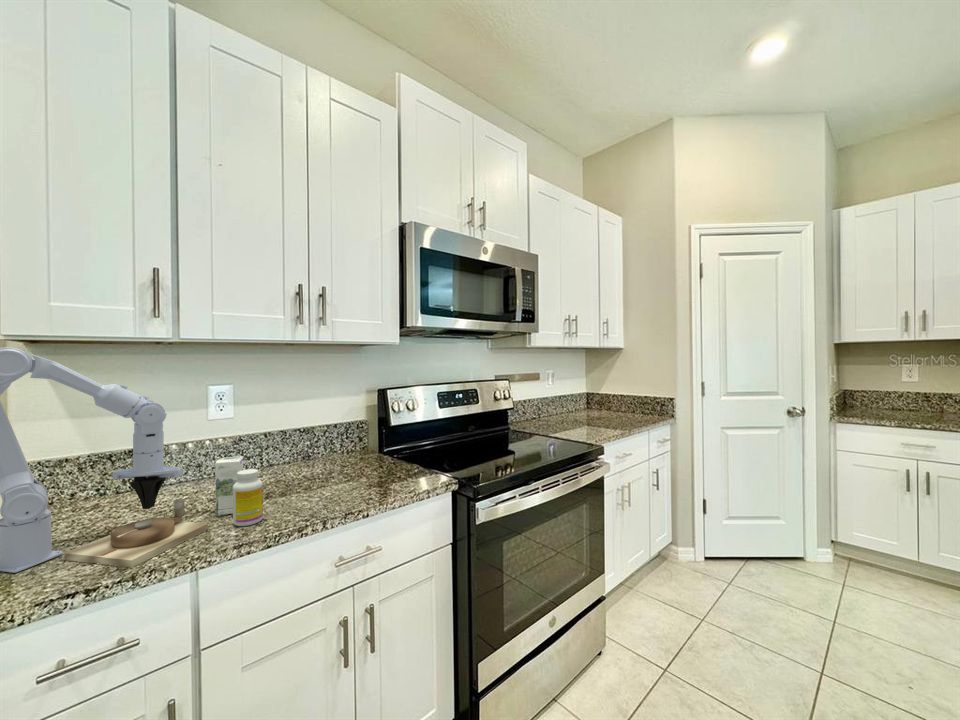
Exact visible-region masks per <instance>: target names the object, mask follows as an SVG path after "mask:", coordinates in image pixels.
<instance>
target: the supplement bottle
mask: <svg viewBox="0 0 960 720" xmlns="http://www.w3.org/2000/svg"><path fill="white" fill-rule="evenodd" d="M258 476H259V470H258V469H254V468H251V469H250V468H249V469H243V470H242V471H239V472H237V479H238V482H236V483H235V484H234V485H233V514H232V523H233V524H234V525H235V526H237V527H247V526H251V525H255V524H258V523H259V522H260V523H261V521H262V520H263V518H264V497H263V496H264V494H263V493H264V492H263V491H264V490H263V488H264V487H263V481H262V480H261V479H259V478H258Z"/></svg>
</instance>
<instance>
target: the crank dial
mask: <svg viewBox="0 0 960 720" xmlns="http://www.w3.org/2000/svg"><path fill="white" fill-rule="evenodd" d="M173 504H174V505H173V506H174V507H173V509H174V511H173V512H174V514H173V515H174V516H172V517H165V516H164V517H153V518H152V517H151V518H145V519H141V520H136V521H133V522H130V523H126V524H123V525H122V526H120V527H117V528H115V529H114V530H112V531H111V532H110V535H111V545H112V546H113V547H119V548H124V547H134V546H140V545H144V544H148V543H152V542H155V541H158V540H160V539H163V538H165V537H167V536H169V535H170V534H172V533H173V532H174V523H176V522H178V521H183V517H185V498H177V499H174V501H173Z"/></svg>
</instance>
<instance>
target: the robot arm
mask: <svg viewBox="0 0 960 720" xmlns="http://www.w3.org/2000/svg"><path fill="white" fill-rule="evenodd" d="M29 373H31V375H30V377H29V378H30V379H42V380H43V379H45V380H47V379H48V380H51V381H55V382H57V383H60V384H62V385H64V386H67V387H68V388H69V387H70V388H71V389H74V390H77V391H79V392H81V393H83V394H86V395H88V396H91V397H92V398H93V400H94V405H95V406H96V407H99V408H102V409H103V410H107V411H108V412H111V413H113V414H115V415H117V416H120V417H123V418H125V419H129V418H130V419H131V420H132V421H133V422H134V423H133V426H134V427H133V434H132V468H124V469H123V468H122V469H116V470H114V471H112V481H113V480H114V481H115V480H121V479H133V481H131V482H130V483H129V486H130V487H131V488H132V489H133V491H135V493H136V495H137V497H138V499H139V502H140V505H141V507H142V508H141V509H143V510H150V509H151V508H153V507H155V504H156V501H157V498H158V495H159V492H160V490H161V488H162V486H163V484H164V482H165V481H166V479H167V478H174V479H177V478H180V477H183V476H184V467H173V466H172V467H171V466H164V462H165V461H164V453H165V451H164V450H165V449H164V447H165V445H164V443H165V442H164V439H165V437H164V436H165V435H164V434H165V433H164V430H163V429H164V424H163V423H164V421H165V420H166V417H167V413H166V410H165V408H164V407H163V406H162V405H161V404H159V403H156V402H154V401H153V400H149V399H150V397H148V396H147V395H140V394H138V393H136V392H135V391H132V390H129V389H128V388H129V387H128V386H127V385H126V384H123V383H121V384H120V385H119V384H117V383H110V384H105V385H104V384H102V383H100V382H97V381H95V380H94V379H91V378H90V377H87V376H85V375H83V374H81V373H79V372H77V371H75V370H74V369H71V368H69V367H67V366H64V365H63V364H61V363H59V362H57V361H54V360H51V359H49V358H48V359H47V358H45V357H42V356H38V355H35V354H33V353H31V355H30V354H29V353H28V352H25V350H21V349H19V348H16V347H0V397H1V396H2V395H3V394H4V393H5V391H6V390H7V389H8V388H9V387H11V384H12V383H14V382H16V381H17V380H19V379H21V378H23V377H24V376H25V375H28V374H29ZM5 410H6V409H5V408H4V406H3V403H2V401H1V400H0V497H1V500H2V501H1V506H0V516H1V518H0V572H6V573H13V574H15V573H18V572H22V571H23V570H26V569H30V568H31V567H34V566H36V565H40V564H41V563H44V562H46V561H49V560H51V559H54V558H57V557H59V556H62V555H63V554H64V551H61V550H53V549H52V548H53V547H52V546H53V545H52V511H51V510H50V509H48V506H49V501H48V494H49V493H48V489H47V487H46V486H45V485H44V484H42V483H40V482H39V481H38V480H37V479H36V478H35V476H34V473H33V472H32V470H31V468H30V467H29V464H28V462H27V460H26V457H25V455H24V452H23V451H22V447H21V445H20V443H19V440H18V439H17V436H16V433H15V431H14V428H13V427H12V425H11V421H10V419H9V417H8V416H7V413H6V411H5Z"/></svg>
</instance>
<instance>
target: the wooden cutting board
mask: <svg viewBox="0 0 960 720" xmlns="http://www.w3.org/2000/svg"><path fill="white" fill-rule="evenodd" d="M206 530H207V531H209V523H204V522H194V521H193V522H192V521H183V520H181V521H178V522H176V523H174V532H173V533H172V534H170V535H169V536H167V537H165V538H163V539H160V540H158V541H155V542H152V543H148V544H144V545H140V546H134V547H124V548H119V547H113V546H112V545H111V534H109V535H107V536H104V537H101V538H99V539H96V540H94V541H91V542H88V543H86V544H83V545H82V546H78V547H76V548H74V549H71V550H68V551H66V552H63V554H64V557H63V558H64V561H68V562H76V561H77V563H84V562H85V563H86V564H93V563H99V564H98V565H102V564H111V565H117V566H116V567H119V566H121V568H129V569H130V568H131V569H132V568H134V567H136V566H137V565H140V564H142V563H143V562H147V561H148V560H150V559H153V558H154V557H156V556H158V555H161V554H162V553H164V552H167V551H168V550H171V549H172V548H174V547H176V546H178V544H179V545H180V543H181V544H182V542H183V543H184V541H185V542H187V541H189V540H190V538H191V539H193V538H195V537H196V535H197V536H199V535H200V533H201V534H202V532H203V533H205V532H206ZM204 531H205V532H204ZM198 534H199V535H198ZM186 540H187V541H186ZM111 565H110V566H111Z"/></svg>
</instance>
